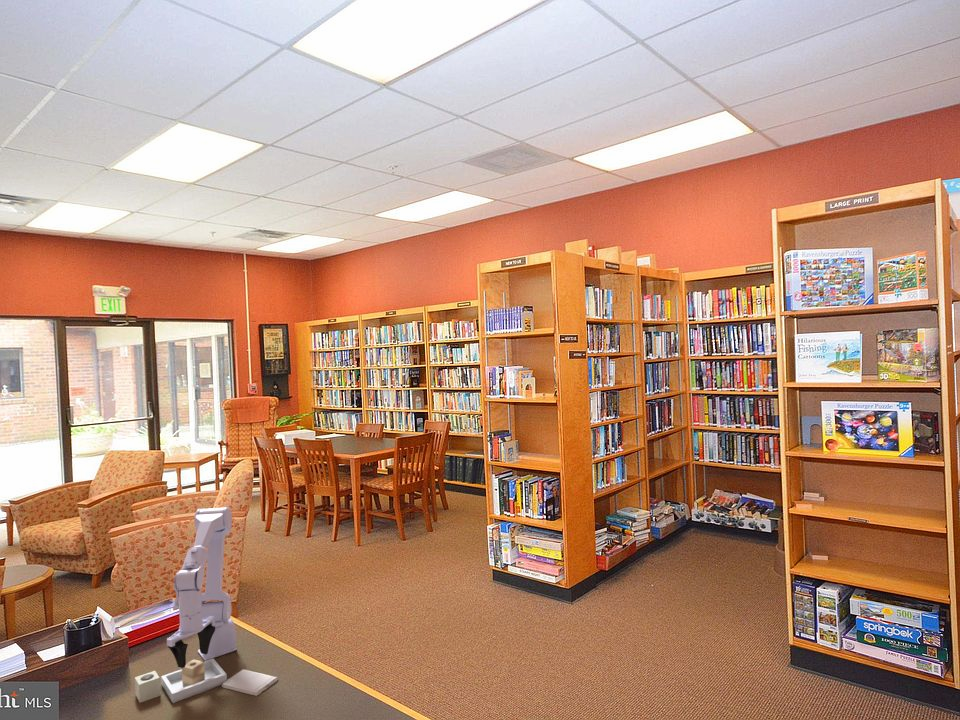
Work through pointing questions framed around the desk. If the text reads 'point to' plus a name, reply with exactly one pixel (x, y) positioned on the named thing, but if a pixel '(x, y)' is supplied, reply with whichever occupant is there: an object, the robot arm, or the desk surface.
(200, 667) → the block
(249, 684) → the white flat slab
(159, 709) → the desk surface
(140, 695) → the oversize block
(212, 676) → the tray
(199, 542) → the robot arm
